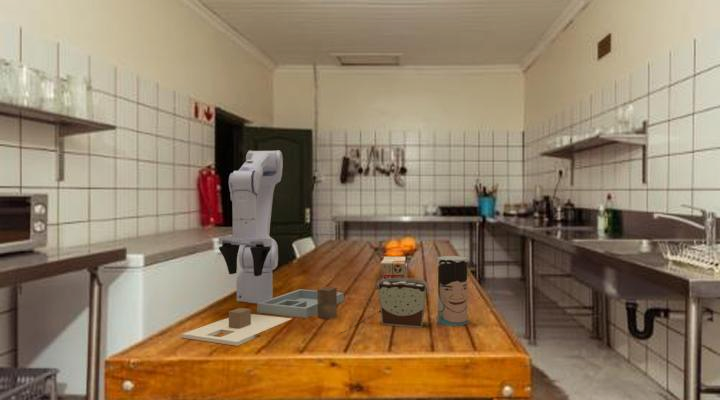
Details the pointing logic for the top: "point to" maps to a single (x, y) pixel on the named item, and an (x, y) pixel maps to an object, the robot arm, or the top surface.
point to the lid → (235, 327)
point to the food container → (402, 301)
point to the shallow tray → (294, 304)
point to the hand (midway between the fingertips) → (245, 274)
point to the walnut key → (327, 302)
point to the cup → (452, 290)
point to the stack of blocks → (393, 267)
